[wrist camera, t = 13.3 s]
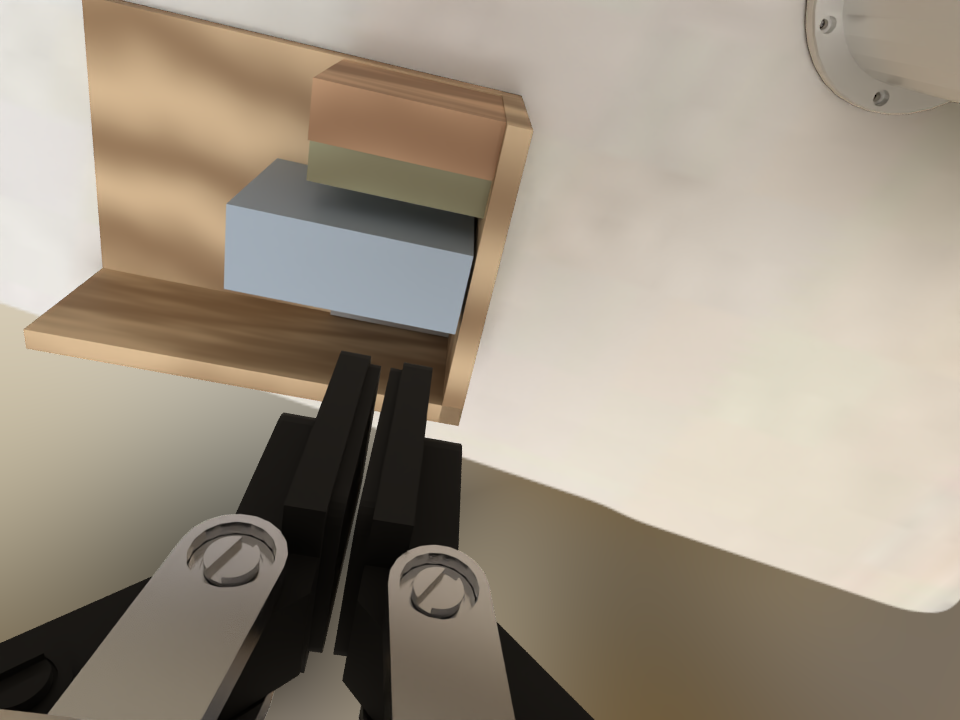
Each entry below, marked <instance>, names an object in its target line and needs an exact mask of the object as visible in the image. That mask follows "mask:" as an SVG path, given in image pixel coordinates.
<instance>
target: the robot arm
mask: <svg viewBox="0 0 960 720" xmlns="http://www.w3.org/2000/svg"><path fill="white" fill-rule="evenodd" d="M823 19H824V21H825V24H824V26H823V28H821V29H820V23H821V22H822V20H823ZM806 33H807V43H808V48H809V51H810V54H811V57H812V60H813V64H814V66H815V68H816V70H817V71H818V73H819V75H820V76H821V78H822V80H823V82H824V83H825V84H826V85H827V86H828V87H829V88H830V89H831V90H832V91H833V92H834V93H835V94H836V95H837V96H838V97H840V98H842V99H843V100H845V101H847V102H848V103H850V104H852V105H854V106H857V107H860V108H862V109H865V110H867V111H871V112H877V113H882V114H887V115H896V114H912V113H917V112H922V111H927V110H931V109H933V108H936V107H939V106H941V105H944V104H946V103H949V102H951V101H953V102H957V103H960V0H807V11H806ZM876 93H877V97H876V98H875V99H874V96H875V95H876ZM873 99H874V100H873ZM432 371H433V368H432V367H427V366H421V365H416V364H411V363H405V362H404V364H403V369H402V370H400V369H395V368H391V369H390V373H389V378H388V382H387V386H386V391H385V395H384V400H383V404H382V408H381V413H380V417H379V422H378V426H377V430H376V435H375V439H374V443H373V448H372V452H371V457H370V461H369V466H368V470H367V474H366V479H365V483H364V487H363V492H362V496H361V500H360V505H359V510H358V515H357V520H356V525H355V530H354V536H353V542H352V548H351V554H350V559H349V565H348V571H347V577H346V583H345V589H344V595H343V601H342V607H341V612H340V619H339V624H338V630H337V636H336V642H335V648H334V655H342V656H347V658H346V664H345V669H344V674H343V680H342V681H343V682H344V683H345V685H346V686H347V687H348V688H349V690H350V691H351V692H352V694H353V695H354V696H355V698H356V699H357V700H358V701H359V703H360V704H361V707H360V713H359V720H594V719H593V718H592V717H591V716H590V715H589V714H588V713H587V712H586V711H585V710H584V709H583V708H582V707H581V706H580V705H579V704H578V703H577V702H576V701H575V700H574V699H573V698H572V697H571V696H570V695H569V694H568V693H567V692H566V691H565V690H564V689H563V688H562V687H561V686H560V685H559V684H558V683H557V682H556V681H555V680H554V679H553V678H552V677H551V676H550V675H549V674H548V673H547V672H546V671H545V670H544V669H543V668H542V667H541V666H540V665H539V664H538V663H537V662H536V661H535V660H534V659H533V658H532V657H531V656H530V655H529V654H528V653H527V652H526V651H525V650H524V649H523V648H522V647H521V646H520V645H519V644H518V643H517V642H516V641H515V640H514V639H513V638H512V637H511V636H510V635H509V634H508V633H507V632H506V631H505V630H504V629H503V628H502V627H501V626H500V625H499V624H498V623H497V622H496V618H495V612H494V607H493V602H492V596H491V591H490V586H489V583H488V581H487V578H486V575H485V573H484V572H483V570H482V569H481V568H480V567H479V565H478V564H477V563H476V562H475V561H474V560H473V559H471V558H470V557H469V556H467V555H466V554H465V553H463V552H460V551H458V544H459V517H460V491H461V489H460V488H461V465H462V463H461V462H462V445H461V444H459V443H453V442H447V441H442V440H436V439H430V438H425V429H426V421H427V412H428V404H429V396H430V388H431V379H432ZM380 373H381V366H379V365H374V364H371V356H368V355H363V354H358V353H352V352H347V351H341V353H340V355H339V358H338V360H337V363H336V366H335V369H334V371H333V374H332V377H331V379H330V382H329V385H328V387H327V390H326V393H325V395H324V398H323V401H322V404H321V406H320V409H319V412H318V415H317V417H316V418H311V417H305V416H300V415H294V414H289V413H283V414H281V416H280V418H279V420H278V422H277V424H276V426H275V429H274V431H273V433H272V435H271V438H270V439H269V442H268V444H267V446H266V448H265V451H264V453H263V455H262V457H261V459H260V461H259V464H258V466H257V468H256V470H255V472H254V475H253V477H252V479H251V481H250V483H249V486H248V488H247V490H246V493H245V495H244V497H243V499H242V501H241V503H240V506H239V508H238V510H237V512H236V514H233V515H222V516H219V517H215V518H212V519H208V520H206V521H204V522H202V523H200V524H199V525H197V526H195V527H193V528H192V529H191V530H190V531H189V532H188V533H187V534H186V535H185V536H184V537H183V538H182V539H181V540H180V541H179V542H178V544H177V545H176V546H175V548H174V549H173V550H172V551H171V553H170V554H169V556H168V557H167V558H166V560H165V561H164V562H163V563H162V565H161V566H160V567H159V569H158V570H157V571H156V572H155V574H154V575H153V576H152V577H150V578H147V579H145V580H143V581H141V582H138V583H136V584H134V585H132V586H129V587H127V588H125V589H123V590H120V591H118V592H116V593H113V594H111V595H109V596H106V597H104V598H102V599H100V600H97V601H95V602H93V603H91V604H88V605H86V606H84V607H82V608H79V609H77V610H75V611H72V612H70V613H68V614H66V615H63V616H61V617H59V618H56V619H54V620H52V621H50V622H47V623H45V624H43V625H41V626H38V627H36V628H34V629H32V630H29V631H27V632H25V633H23V634H20V635H18V636H15V637H13V638H11V639H9V640H6V641H4V642H2V643H0V720H264V719H265V716H266V714H267V712H268V710H269V708H270V704H271V701H272V697H273V694H274V690H276V689H277V688H279V687H281V686H282V685H284V684H285V683H287V682H288V681H290V680H291V679H293V678H295V677H296V676H298V675H299V674H300V672H301V673H304V671H305V666H306V663H307V659H308V655H309V651H312V652H320V653H322V652H323V648H324V644H325V640H326V636H327V631H328V627H329V623H330V618H331V614H332V610H333V605H334V601H335V597H336V593H337V589H338V584H339V580H340V576H341V571H342V567H343V563H344V559H345V554H346V549H347V546H348V541H349V537H350V533H351V528H352V524H353V520H354V516H355V511H356V506H357V503H358V498H359V494H360V489H361V484H362V479H363V473H364V466H365V461H366V456H367V450H368V443H369V438H370V432H371V426H372V420H373V414H374V408H375V403H376V397H377V391H378V385H379V379H380Z"/></svg>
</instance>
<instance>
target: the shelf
mask: <svg viewBox="0 0 960 720" xmlns="http://www.w3.org/2000/svg"><path fill="white" fill-rule="evenodd" d="M82 6H83V18H84V31H85V44H86V57H87V70H88V83H89V96H90V109H91V122H92V135H93V148H94V161H95V174H96V187H97V200H98V213H99V226H100V238H101V251H102V264H103V268H102V269H101V270H100V271H98V272H97V273H96V274H94V275H93V276H92V277H91V278H89V279H88V280H87V281H85V282H84V283H83V284H81V285H80V286H79V287H78V288H76V289H75V290H74V291H72V292H71V293H70V294H69V295H67V296H66V297H65V298H63V299H62V300H61V301H59V302H58V303H57V304H56V305H54V306H53V307H52V308H50V309H49V310H48V311H47V312H45V313H44V314H43V315H41V316H40V317H39V318H38V319H36V320H35V321H34V322H32V323H31V324H30V325H29V326H27V327H26V328H25V329H24V336H25V342H26V348H27V349H33V350H38V351H44V352H49V353H55V354H60V355H66V356H72V357H77V358H83V359H88V360H94V361H100V362H105V363H111V364H117V365H122V366H128V367H133V368H139V369H144V370H150V371H155V372H161V373H167V374H172V375H177V376H183V377H189V378H194V379H200V380H206V381H211V382H216V383H222V384H228V385H233V386H239V387H245V388H250V389H255V390H261V391H267V392H272V393H278V394H283V395H289V396H295V397H300V398H306V399H311V400H317V401H323V398H324V395H325V393H326V390H327V387H328V385H329V382H330V379H331V377H332V374H333V371H334V369H335V366H336V363H337V360H338V358H339V355H340V353H341V351H347V352H352V353H358V354H363V355H368V356H371V364H374V365H379V366H381V373H380V379H379V385H378V391H377V397H376V403H375V408H374V411H378V412H381V408H382V404H383V400H384V395H385V391H386V386H387V382H388V378H389V373H390V369H391V368H395V369H400V370H402V369H403V364H404V362H405V363H411V364H416V365H421V366H427V367H432V368H433V371H432V379H431V388H430V396H429V404H428V412H427V420H428V421H434V422H439V423H445V424H451V425H456V426H459V422H460V418H461V414H462V410H463V406H464V402H465V398H466V394H467V390H468V386H469V382H470V378H471V375H472V371H473V367H474V363H475V359H476V355H477V351H478V347H479V343H480V339H481V335H482V331H483V327H484V323H485V319H486V315H487V311H488V307H489V303H490V300H491V296H492V292H493V288H494V284H495V280H496V276H497V272H498V268H499V264H500V260H501V256H502V252H503V248H504V244H505V240H506V236H507V232H508V229H509V225H510V221H511V217H512V213H513V209H514V205H515V201H516V197H517V193H518V189H519V185H520V181H521V177H522V173H523V169H524V165H525V161H526V158H527V154H528V150H529V146H530V142H531V138H532V134H533V128H532V125H531V123H530V120H529V117H528V114H527V111H526V108H525V105H524V102H523V99H522V96H520V95H516V94H511V93H507V92H503V91H499V90H495V89H490V88H486V87H482V86H478V85H474V84H469V83H465V82H461V81H457V80H453V79H449V78H444V77H440V76H436V75H432V74H428V73H423V72H419V71H415V70H411V69H407V68H402V67H398V66H394V65H390V64H386V63H382V62H377V61H373V60H369V59H365V58H361V57H356V56H352V55H348V54H344V53H340V52H336V51H331V50H327V49H323V48H319V47H315V46H310V45H306V44H302V43H298V42H294V41H289V40H285V39H281V38H277V37H273V36H269V35H264V34H260V33H256V32H252V31H248V30H243V29H239V28H235V27H231V26H227V25H222V24H218V23H214V22H210V21H206V20H202V19H197V18H193V17H189V16H185V15H181V14H176V13H172V12H168V11H164V10H160V9H155V8H151V7H147V6H143V5H139V4H135V3H130V2H126V1H122V0H82ZM277 158H279V159H283V160H288V161H292V162H297V163H301V164H306V165H308V167H307V179H306V181H311V182H316V183H320V184H325V185H330V186H334V187H339V188H344V189H348V190H353V191H357V192H362V193H367V194H371V195H376V196H381V197H385V198H390V199H394V200H399V201H404V202H408V203H413V204H418V205H422V206H427V207H431V208H436V209H441V210H445V211H450V212H455V213H459V214H464V215H469V216H473V217H474V256H473V261H472V265H471V269H470V273H469V278H468V282H467V286H466V291H465V295H464V299H463V303H462V308H461V312H460V316H459V320H458V325H457V329H456V333H455V334H450V333H445V332H440V331H434V330H429V329H424V328H419V327H414V326H409V325H404V324H399V323H394V322H389V321H384V320H379V319H374V318H369V317H364V316H359V315H354V314H349V313H344V312H338V311H333V310H328V309H323V308H318V307H313V306H308V305H303V304H298V303H293V302H288V301H283V300H278V299H273V298H268V297H263V296H258V295H253V294H247V293H242V292H237V291H232V290H227V289H224V266H225V230H226V204H227V203H228V202H229V201H230V200H231V199H232V198H233V197H234V196H236V195H237V194H238V193H239V192H240V191H241V190H242V189H243V188H245V187H246V186H247V185H248V184H249V183H250V182H251V181H252V180H253V179H255V178H256V177H257V176H258V175H259V174H260V173H261V172H262V171H263V170H265V169H266V168H267V167H268V166H269V165H270V164H271V163H272V162H274V161H275V160H276V159H277Z"/></svg>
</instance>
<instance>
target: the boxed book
mask: <svg viewBox="0 0 960 720" xmlns="http://www.w3.org/2000/svg"><path fill="white" fill-rule="evenodd" d="M307 167H308V165H306V164H301V163H297V162H292V161H288V160H283V159H279V158H277V159H276V160H275V161H274V162H272V163H271V164H270V165H269V166H268V167H267V168H266V169H265V170H263V171H262V172H261V173H260V174H259V175H258V176H257V177H256V178H255V179H253V180H252V181H251V182H250V183H249V184H248V185H247V186H246V187H245V188H243V189H242V190H241V191H240V192H239V193H238V194H237V195H236V196H234V197H233V198H232V199H231V200H230V201H229V202H228V203H227V204H226V230H225V266H224V289H227V290H232V291H237V292H242V293H247V294H253V295H258V296H263V297H268V298H273V299H278V300H283V301H288V302H293V303H298V304H303V305H308V306H313V307H318V308H323V309H328V310H333V311H338V312H344V313H349V314H354V315H359V316H364V317H369V318H374V319H379V320H384V321H389V322H394V323H399V324H404V325H409V326H414V327H419V328H424V329H429V330H434V331H440V332H445V333H450V334H455V333H456V329H457V325H458V320H459V316H460V312H461V308H462V303H463V299H464V295H465V291H466V286H467V282H468V278H469V273H470V269H471V265H472V261H473V256H474V217H473V216H469V215H464V214H459V213H455V212H450V211H445V210H441V209H436V208H431V207H427V206H422V205H418V204H413V203H408V202H404V201H399V200H394V199H390V198H385V197H381V196H376V195H371V194H367V193H362V192H357V191H353V190H348V189H344V188H339V187H334V186H330V185H325V184H320V183H316V182H311V181H306V179H307Z"/></svg>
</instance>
